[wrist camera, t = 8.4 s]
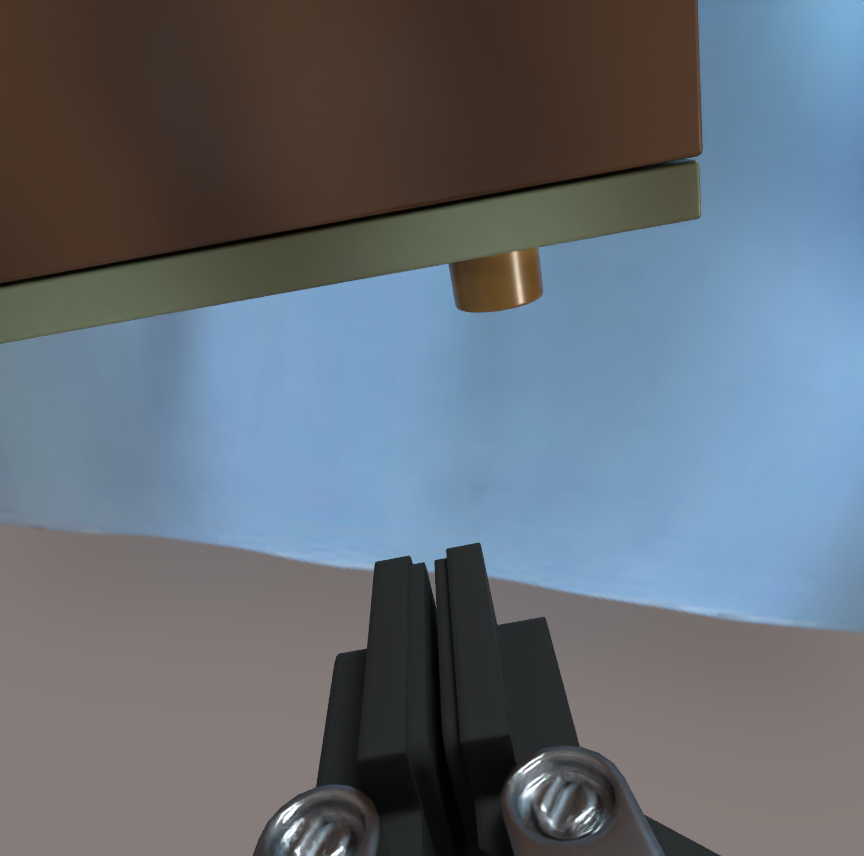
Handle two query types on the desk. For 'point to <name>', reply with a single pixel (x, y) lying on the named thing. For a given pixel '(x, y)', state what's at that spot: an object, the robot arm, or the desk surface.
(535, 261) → the drawer
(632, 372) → the desk surface
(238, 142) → the stand
